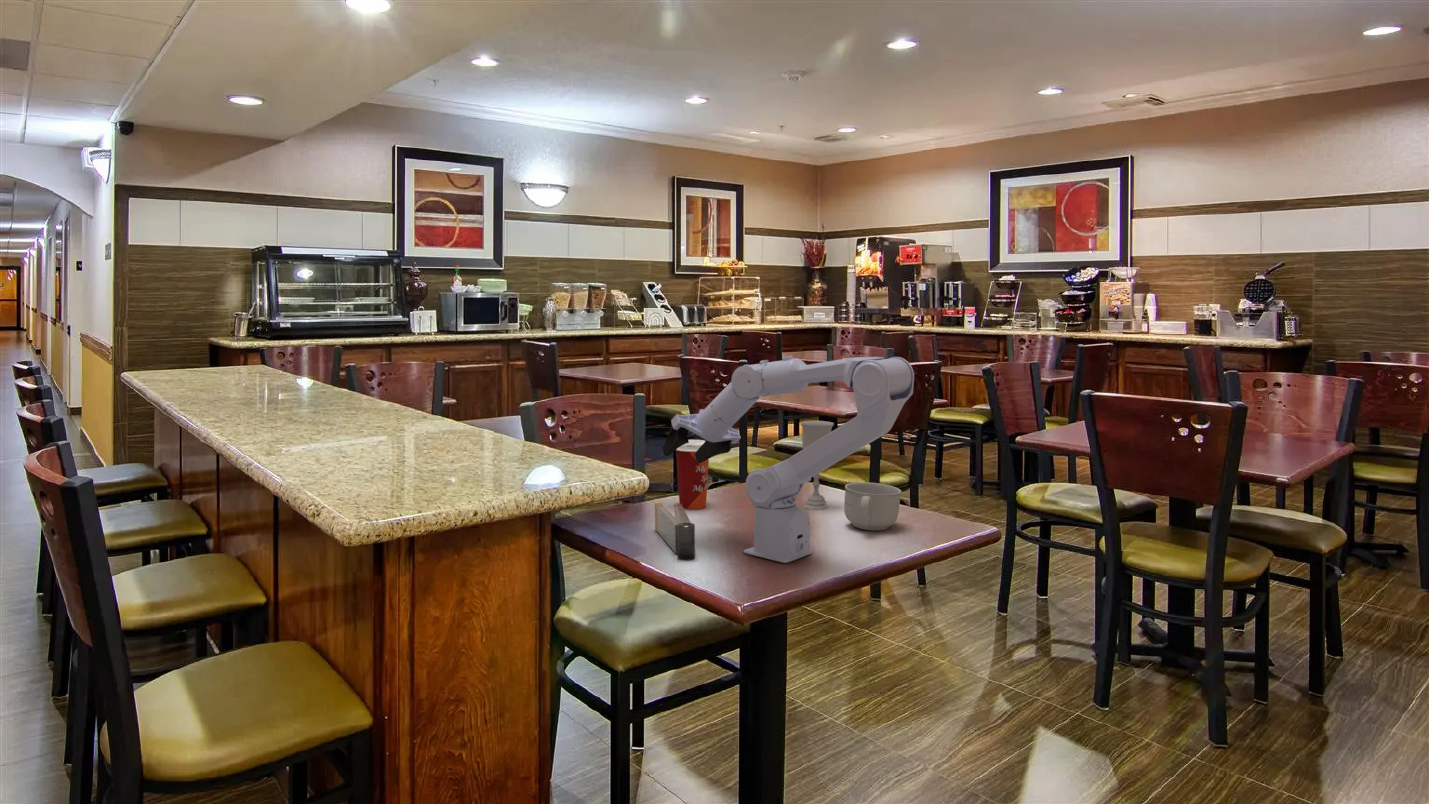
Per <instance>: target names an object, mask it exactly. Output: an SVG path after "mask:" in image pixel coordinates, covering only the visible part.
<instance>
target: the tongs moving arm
mask: <svg viewBox="0 0 1429 804" xmlns="http://www.w3.org/2000/svg"><path fill="white" fill-rule="evenodd" d="M678 524H680V522H679V521H678V520H677V519H676V518H675V515H673V513H671V512H670V510H668V509H667V508H666V506H664V504H662V503H661V502H657V503H654V529H655V530H656V532H657V533H658V534H659V536H660V537H662V539H663V540H664V541H665V542H666V543H667V545H668V546H669V547H670V548H671V550H672V551H673V552H674V553H675V554H678V539H677V525H678Z"/></svg>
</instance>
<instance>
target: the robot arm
mask: <svg viewBox="0 0 1429 804" xmlns="http://www.w3.org/2000/svg"><path fill="white" fill-rule="evenodd" d="M836 381H843V382H844V385H846V386H847V388H849V389H850V388H852V389H853V394H854V400H855V405H856V416H854V417H853V418H851V419H850V420H848V421H847V422H845V423H843V424H841V425H840V426H838V427H837V428H835V429H833V430H831V432H830V433H829V434H827V435H825V436H824V437H822V438H821V439H819V440H817V441H816V442H814V443H812V444H811V445H809V446H808V447H806V448H804V449H802V450H801V449H800V451H798V452H797V453H795V454H793V455H792V456H790V457H788V458H786V459H784V460H781V461H780V462H778V463H775V464H773V465H771V466H768V467H765V468H761V469H758V468H757V469H754V470H753V471H751V472H749V474H748V475H747V477H746V479H745V491H746V494H747V497H748V498H749V500H750V501H751V503H752V504H751V505H752V506H753V546H752V547H750V548H747V549H743V554H746V555H751V556H754V557H758V558H763V559H767V560H770V561H776V562H779V563H783V564H788V563H791V562H792V561H797V560H798V559H801V558H803V557H805V556H808V555H812V554H813V551H812V550H810V546H811V545H810V544H811V543H810V542H811V540H810V539H811V538H810V536H811V532H810V530H811V520H810V515H809V512H807V510H805V509H803V508H801V507H799V506H798V505H796V502H797V498H798V497H797V495H798V494H800V492H802V489H803V488H804V486H805V485H806V484H807V483H809V482H811V480H812V478H814V477H813V476H815V475H817V474H818V473H819V474H820V473H822V472H823V471H826V469H828V468H831V466H834V465H836V463H839V462H840V461H842V460H843V459H845V458H847V457H848V456H850V455H853V454H854V453H856V452H857V451H859V450H861V449H862V448H864V447H865V446H867V445H869V444H871V443H873V442H875V441H876V440H877V439H880V438H881V437H883V436H884V435H886V434H888V433H889V432H890V431H891V430H892V427H893V426H894V424H895V422H896V420H897V418H898V417H899V415H900V412H901V410H902V409H903V407H904V405H905V403H906V402H907V401H908V400H909V399H910V398H911V396H913V394H914V386H915V385H914V384H915V383H914V382H915V372H914V369H913V366H912V365H911V364H910V362H909V361H907V359H905V358H904V357H900V356H892V357H889V358H886V359H885V357H883V356H855V357H847V358H846V357H845V358H841V359H835V360H828V361H824V362H817V363H812V364H811V363H810V364H806V363H805V361H803V360H801V359H799V358H794V355H787V356H782V359H781V360H775V361H770V362H769V359H764V360H763V359H762V360H760V361H759V363H755V364H743V365H741V366H738V367H737V368H736V369H734V371H733V372H732V374H731V380H730V382H729V383H728V385H726V386H725V387H724V389H722V391H720V392H719V394H718V395H717V396H715V398H714V399H713V400H712V401H711V402H710V403H709V404H708V405H707V406H706V407H705V408H704V409H703V408H700V409H699V411H698V413H693V414H676V415H674V416H673V417H672V418H671V420H670V421H671V423H670V428H669V432H668V435H667V437H666V440H665V441H664V443H663V445H662V451H663V454H664V457H665V456H666V457H669V456H671V455H672V454H673V453H674V452H676V449H677V448H679V447H680V446H682V445H684V444H686V443H689V441H688V440H689V439H688V438H689V437H688V435H689V432H691V433H693V434H695V435H696V436H699V437H701V438H702V439H703V440H704V441H705V442H704V443H703V445H702V446H701V447H700V448H699V449H698V450H697V452H696V453H695V457H696V460H697V463H702V462H704V461H705V460H707V459H709V460H710V459H711V458H713V457H715V456H719V455H723V454H726V453H728V454H729V452H730V451H732V447H731V444H734V445H736V444H737V443H738V442H739V441H740V440H741V435H740V432H739V430H738V429H735V428H733V426H734V425H735V424H736V423H737V422H738V421H739V420H740V419H741V418H742V417H743V416H744V415H745V414H746V413H747V412H748V411H749V410H750V409H751V407H753V405H754V404H755V403H757V402H758V400H760V397H763V398H764V397H768V396H777V395H786V394H794V393H802V392H803V391H805V390H806V388H807V387H808V385H809V384H813V383H816V384H817V383H825V382H826V383H827V382H836Z"/></svg>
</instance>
